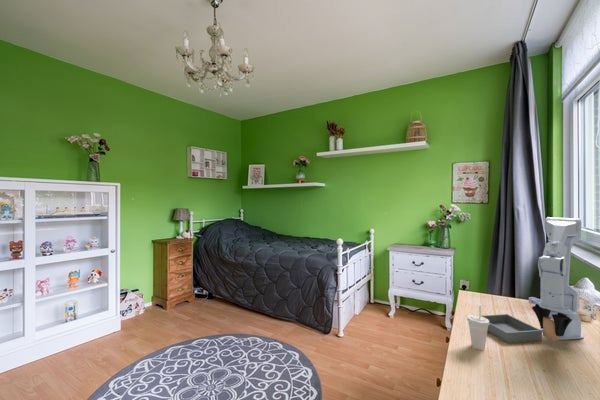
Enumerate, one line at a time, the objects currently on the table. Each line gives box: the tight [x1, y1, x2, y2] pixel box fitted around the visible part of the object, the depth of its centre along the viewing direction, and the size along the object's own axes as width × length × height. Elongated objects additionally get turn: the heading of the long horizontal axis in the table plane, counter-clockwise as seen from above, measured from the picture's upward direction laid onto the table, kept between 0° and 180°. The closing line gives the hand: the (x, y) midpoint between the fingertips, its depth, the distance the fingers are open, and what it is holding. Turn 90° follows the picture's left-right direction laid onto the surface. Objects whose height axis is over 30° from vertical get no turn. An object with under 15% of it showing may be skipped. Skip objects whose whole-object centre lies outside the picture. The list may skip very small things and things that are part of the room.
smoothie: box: [466, 305, 489, 351], centre depth 92 cm, size 6×6×14 cm
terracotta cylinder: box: [542, 316, 561, 341], centre depth 92 cm, size 4×4×6 cm
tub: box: [481, 313, 543, 344], centre depth 103 cm, size 14×14×4 cm
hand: (551, 331), depth 92 cm, fingers closed on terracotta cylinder, 4 cm apart
